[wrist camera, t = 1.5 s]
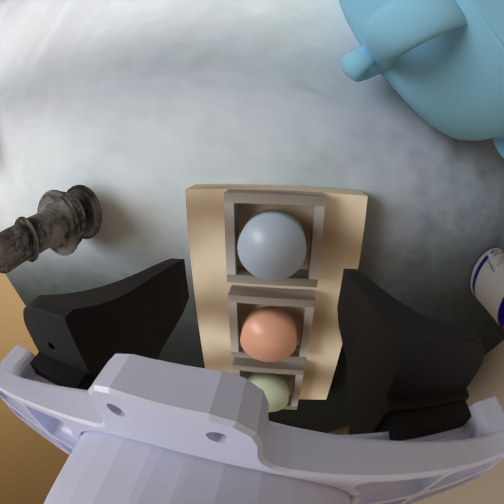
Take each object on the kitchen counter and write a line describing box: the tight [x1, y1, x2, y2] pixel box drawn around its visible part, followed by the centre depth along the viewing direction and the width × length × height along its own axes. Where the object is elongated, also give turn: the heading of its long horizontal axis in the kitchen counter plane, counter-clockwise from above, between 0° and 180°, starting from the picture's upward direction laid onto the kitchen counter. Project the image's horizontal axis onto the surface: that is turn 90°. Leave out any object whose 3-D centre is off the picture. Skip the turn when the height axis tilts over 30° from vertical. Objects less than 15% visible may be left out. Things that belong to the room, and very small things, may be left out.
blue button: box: [237, 209, 306, 281], centre depth 17 cm, size 4×4×2 cm
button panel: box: [185, 184, 368, 410], centre depth 21 cm, size 20×12×3 cm, turn 0°
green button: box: [248, 373, 289, 412], centre depth 22 cm, size 4×4×2 cm
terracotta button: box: [240, 307, 297, 362], centre depth 19 cm, size 4×4×2 cm
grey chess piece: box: [0, 185, 101, 273], centre depth 16 cm, size 6×6×12 cm
